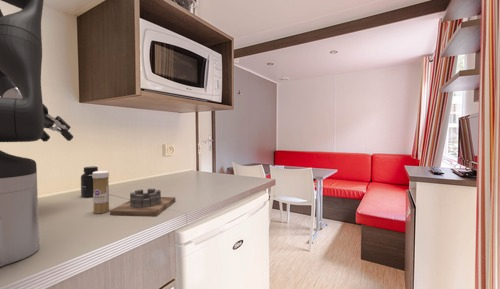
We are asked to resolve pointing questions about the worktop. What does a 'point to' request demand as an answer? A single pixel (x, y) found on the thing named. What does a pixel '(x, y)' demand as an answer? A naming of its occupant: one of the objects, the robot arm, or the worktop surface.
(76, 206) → the worktop surface
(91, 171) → the supplement bottle
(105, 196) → the sprinkles bottle
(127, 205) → the collar base
